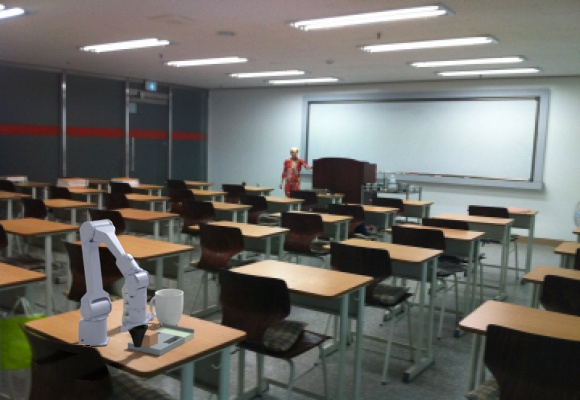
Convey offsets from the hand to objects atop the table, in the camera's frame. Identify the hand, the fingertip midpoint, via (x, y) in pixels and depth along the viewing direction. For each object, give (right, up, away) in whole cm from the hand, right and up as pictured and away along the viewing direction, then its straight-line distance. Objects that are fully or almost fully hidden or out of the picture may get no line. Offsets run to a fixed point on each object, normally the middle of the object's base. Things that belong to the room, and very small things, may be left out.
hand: (137, 346), depth 181 cm
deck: (+5, -2, +12) cm, 14 cm away
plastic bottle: (-11, 0, +29) cm, 31 cm away
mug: (+2, 0, +33) cm, 33 cm away
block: (+2, -1, +5) cm, 6 cm away
